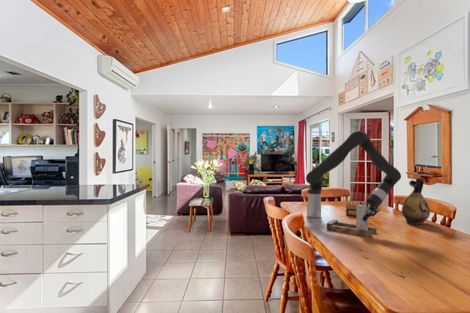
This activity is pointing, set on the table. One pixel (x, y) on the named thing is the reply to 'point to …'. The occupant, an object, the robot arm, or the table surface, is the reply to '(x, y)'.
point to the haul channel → (350, 228)
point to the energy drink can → (360, 213)
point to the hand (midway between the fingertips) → (359, 218)
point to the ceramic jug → (416, 204)
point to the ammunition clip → (351, 208)
